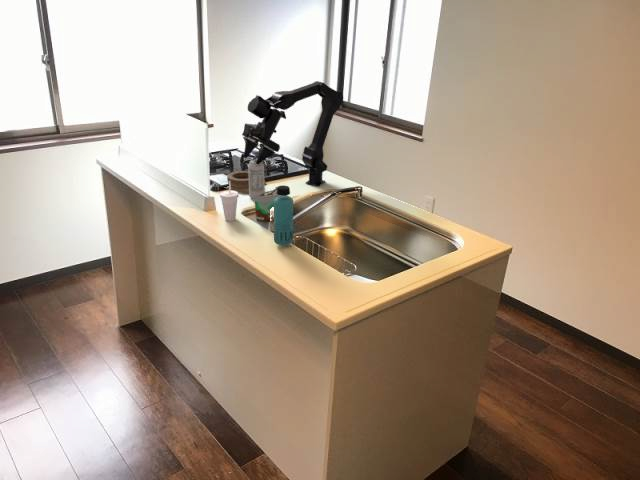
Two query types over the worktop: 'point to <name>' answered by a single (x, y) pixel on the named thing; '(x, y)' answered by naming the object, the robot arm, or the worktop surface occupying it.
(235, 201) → the smoothie
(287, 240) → the beverage bottle
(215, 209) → the worktop surface
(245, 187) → the brown round bowl
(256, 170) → the energy drink can
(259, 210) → the food container
